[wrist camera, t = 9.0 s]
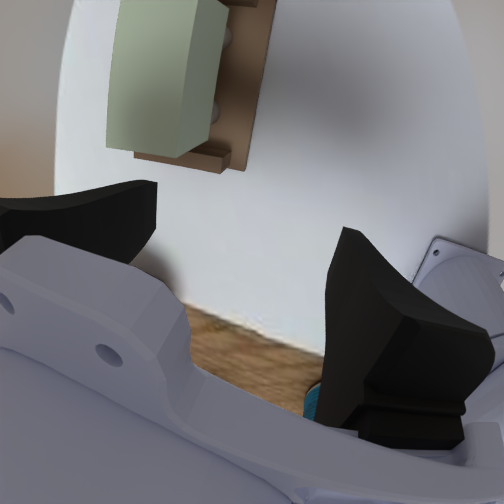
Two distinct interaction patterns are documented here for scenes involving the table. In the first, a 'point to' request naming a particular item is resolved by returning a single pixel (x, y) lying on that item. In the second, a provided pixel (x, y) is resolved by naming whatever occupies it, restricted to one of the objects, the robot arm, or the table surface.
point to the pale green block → (164, 75)
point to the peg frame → (232, 90)
